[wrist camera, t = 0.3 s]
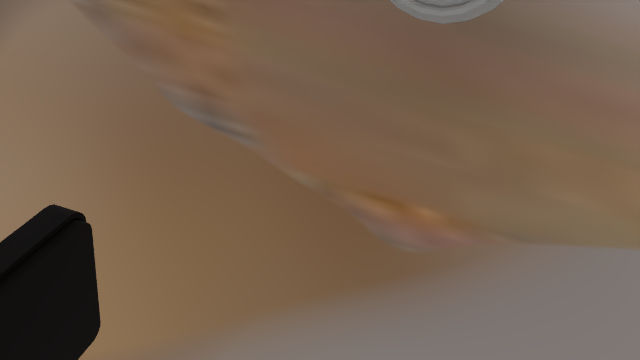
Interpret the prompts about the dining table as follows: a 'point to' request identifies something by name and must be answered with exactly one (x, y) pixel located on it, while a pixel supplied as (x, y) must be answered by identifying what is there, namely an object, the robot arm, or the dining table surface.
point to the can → (446, 9)
